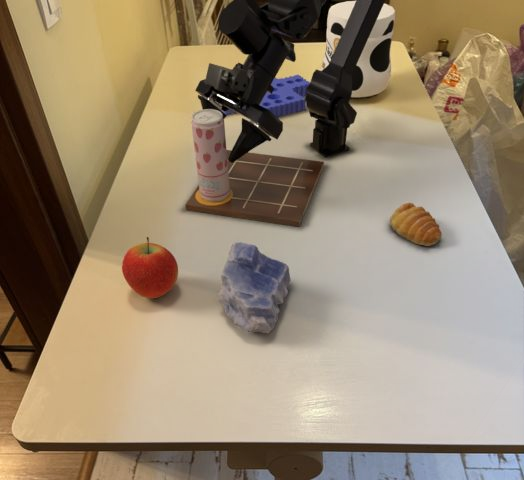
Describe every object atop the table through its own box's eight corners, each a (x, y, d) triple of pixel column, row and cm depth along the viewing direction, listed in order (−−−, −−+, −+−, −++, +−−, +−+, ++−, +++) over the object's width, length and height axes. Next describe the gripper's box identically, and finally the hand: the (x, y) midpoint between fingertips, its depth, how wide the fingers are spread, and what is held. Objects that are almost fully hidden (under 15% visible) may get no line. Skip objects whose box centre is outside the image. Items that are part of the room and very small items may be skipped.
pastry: (449, 240, 90) (454, 221, 87) (420, 253, 88) (424, 235, 85) (412, 214, 95) (416, 196, 92) (383, 226, 93) (387, 208, 90)
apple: (119, 294, 82) (103, 243, 75) (157, 269, 86) (145, 217, 79) (153, 317, 79) (140, 265, 71) (191, 289, 83) (182, 237, 75)
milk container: (305, 89, 134) (308, 8, 121) (355, 72, 141) (363, -6, 127) (351, 112, 125) (359, 27, 111) (402, 93, 131) (416, 11, 118)
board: (223, 154, 112) (223, 148, 111) (323, 166, 108) (324, 160, 106) (186, 210, 98) (185, 203, 97) (299, 227, 94) (299, 220, 92)
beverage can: (196, 201, 97) (186, 121, 86) (204, 185, 101) (195, 107, 90) (225, 203, 96) (218, 124, 85) (233, 187, 100) (227, 109, 89)
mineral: (224, 230, 78) (290, 232, 76) (234, 274, 85) (294, 277, 84) (201, 302, 70) (274, 307, 68) (214, 344, 77) (280, 349, 75)
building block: (223, 126, 121) (222, 115, 119) (206, 86, 137) (205, 76, 135) (325, 112, 124) (326, 102, 123) (297, 75, 140) (297, 65, 138)
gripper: (197, 28, 88) (154, 113, 91) (268, 57, 78) (216, 151, 82) (237, 65, 97) (196, 141, 100) (305, 96, 87) (257, 179, 91)
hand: (214, 152), depth 93 cm, fingers open, 9 cm apart
